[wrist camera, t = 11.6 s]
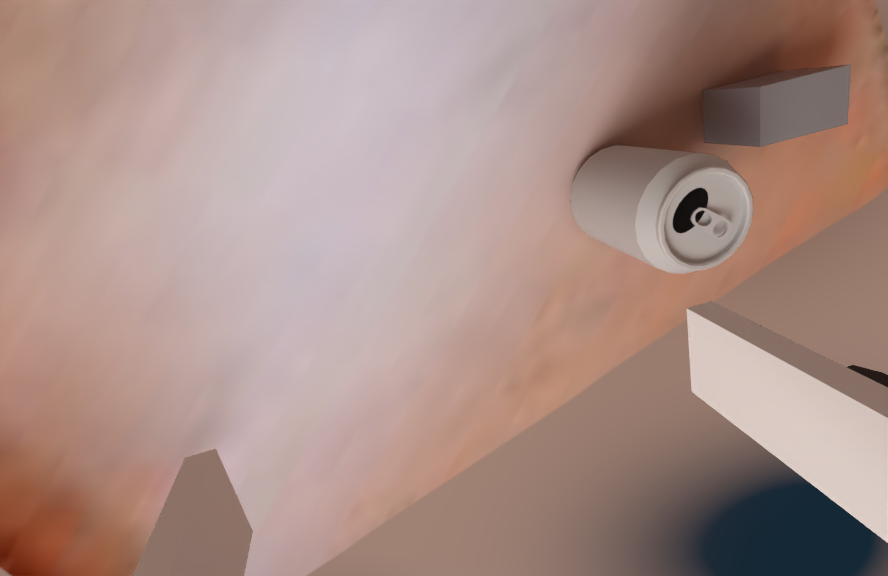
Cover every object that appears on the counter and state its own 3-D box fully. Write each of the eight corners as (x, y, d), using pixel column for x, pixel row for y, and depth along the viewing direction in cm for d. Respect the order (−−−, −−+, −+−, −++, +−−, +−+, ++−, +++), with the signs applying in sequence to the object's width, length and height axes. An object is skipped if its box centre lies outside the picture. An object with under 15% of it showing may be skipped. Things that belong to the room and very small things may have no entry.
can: (600, 125, 40) (702, 129, 29) (669, 174, 42) (789, 195, 31) (547, 211, 41) (626, 247, 30) (618, 254, 44) (715, 301, 32)
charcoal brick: (703, 142, 42) (760, 146, 37) (701, 90, 41) (759, 86, 35) (780, 122, 43) (847, 123, 37) (781, 71, 42) (850, 64, 36)
